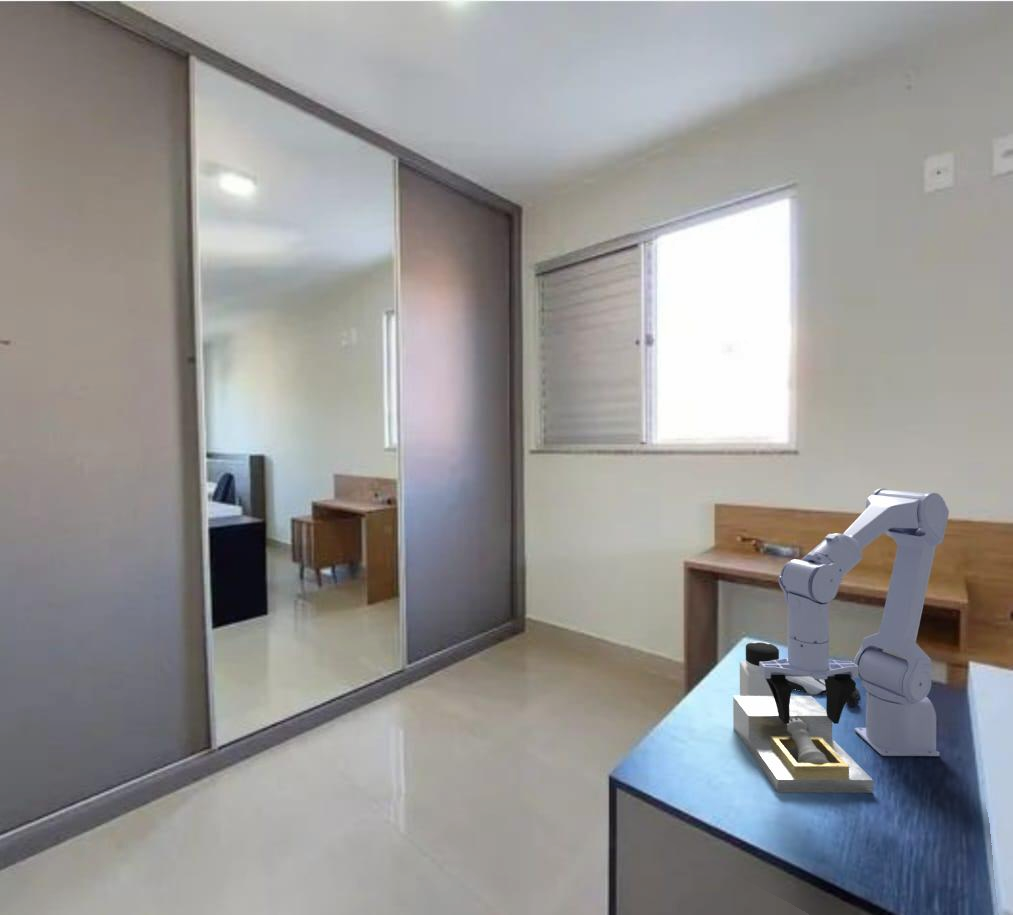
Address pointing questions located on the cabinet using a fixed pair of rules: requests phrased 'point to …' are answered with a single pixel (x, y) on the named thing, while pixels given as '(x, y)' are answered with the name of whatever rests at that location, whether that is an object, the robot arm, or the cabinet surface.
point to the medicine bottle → (756, 669)
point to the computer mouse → (817, 687)
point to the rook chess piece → (805, 743)
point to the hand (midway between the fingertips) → (808, 720)
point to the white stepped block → (780, 751)
